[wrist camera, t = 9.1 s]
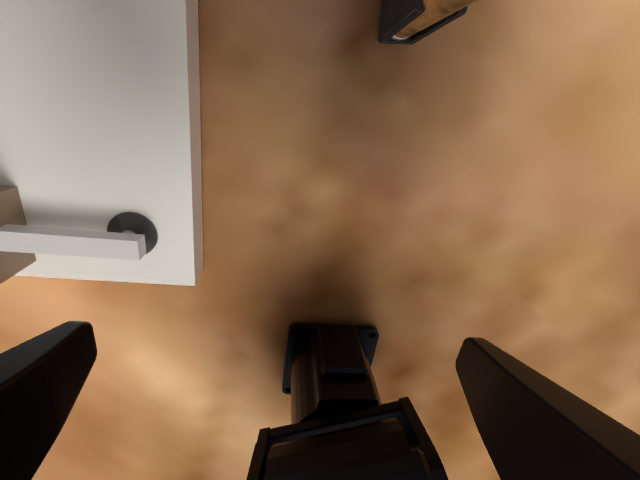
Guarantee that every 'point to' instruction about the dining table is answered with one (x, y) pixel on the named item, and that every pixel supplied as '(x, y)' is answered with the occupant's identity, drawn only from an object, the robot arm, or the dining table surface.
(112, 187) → the white base plate
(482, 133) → the dining table surface
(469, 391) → the robot arm
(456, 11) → the ammunition clip
